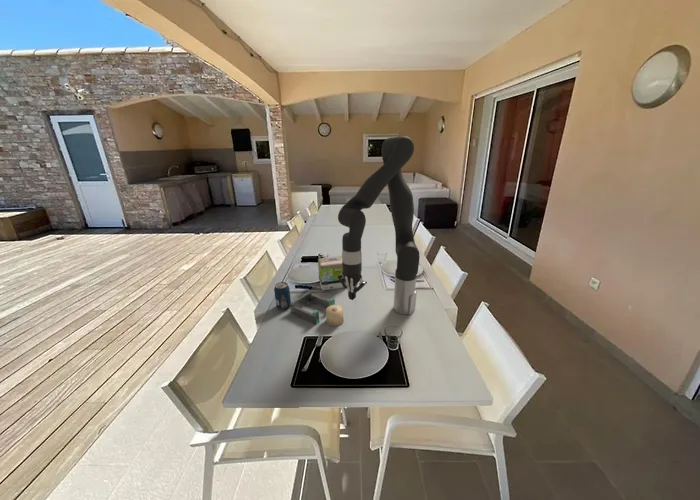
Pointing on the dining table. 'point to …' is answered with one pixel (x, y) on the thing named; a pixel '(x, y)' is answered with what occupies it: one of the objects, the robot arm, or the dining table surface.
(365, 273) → the dining table surface
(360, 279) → the robot arm
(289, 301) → the soda can
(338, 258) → the tea box
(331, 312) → the beige round fruit
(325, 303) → the holder
